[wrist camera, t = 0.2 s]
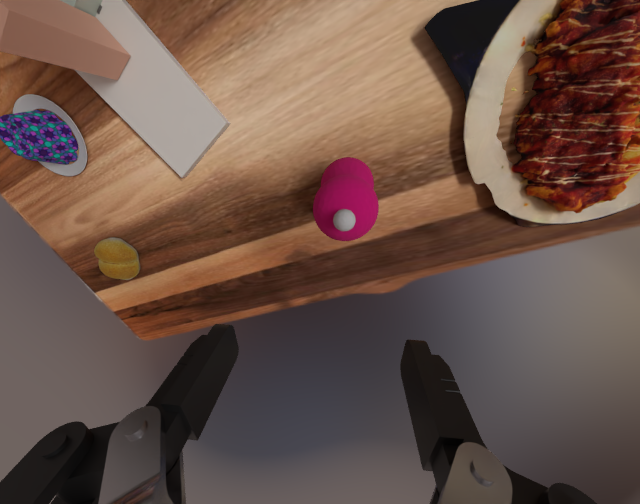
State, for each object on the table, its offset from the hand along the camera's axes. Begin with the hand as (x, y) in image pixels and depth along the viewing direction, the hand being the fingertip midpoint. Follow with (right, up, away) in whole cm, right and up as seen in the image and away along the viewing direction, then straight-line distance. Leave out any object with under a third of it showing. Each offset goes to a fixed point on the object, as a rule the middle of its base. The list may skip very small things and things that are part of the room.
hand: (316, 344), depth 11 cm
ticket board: (-28, +32, +21) cm, 47 cm away
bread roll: (-41, +3, +37) cm, 55 cm away
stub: (-28, +31, +19) cm, 46 cm away
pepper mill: (+4, +16, +25) cm, 29 cm away
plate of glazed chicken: (+32, +22, +18) cm, 43 cm away
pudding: (-44, +23, +28) cm, 57 cm away
